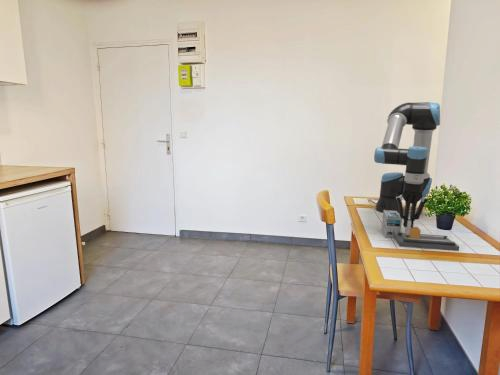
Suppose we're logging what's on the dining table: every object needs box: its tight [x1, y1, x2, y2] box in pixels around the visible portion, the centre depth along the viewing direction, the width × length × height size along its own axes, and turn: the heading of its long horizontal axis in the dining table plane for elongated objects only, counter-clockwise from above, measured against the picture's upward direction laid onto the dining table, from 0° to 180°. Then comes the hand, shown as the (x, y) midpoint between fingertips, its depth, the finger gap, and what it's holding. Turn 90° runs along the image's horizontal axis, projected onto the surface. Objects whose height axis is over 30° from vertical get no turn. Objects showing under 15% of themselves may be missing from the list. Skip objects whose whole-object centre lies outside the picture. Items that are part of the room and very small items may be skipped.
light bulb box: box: [381, 210, 403, 239], centre depth 159 cm, size 11×7×11 cm, turn 169°
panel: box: [393, 232, 460, 252], centre depth 148 cm, size 10×24×3 cm, turn 80°
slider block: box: [407, 226, 421, 239], centre depth 148 cm, size 4×4×5 cm
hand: (407, 233), depth 149 cm, fingers closed
